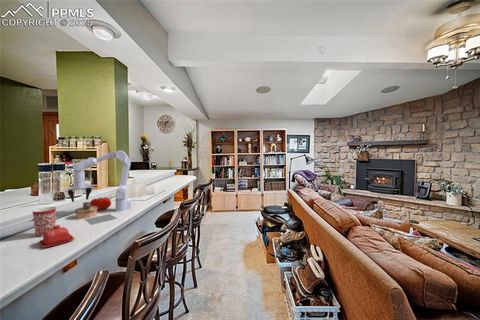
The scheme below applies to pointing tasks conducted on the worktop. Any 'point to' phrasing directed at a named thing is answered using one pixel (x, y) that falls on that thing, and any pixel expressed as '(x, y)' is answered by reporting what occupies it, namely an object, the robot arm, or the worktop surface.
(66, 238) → the butter dish
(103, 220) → the mat
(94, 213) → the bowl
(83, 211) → the lid
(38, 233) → the mug
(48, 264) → the worktop surface
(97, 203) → the tomato
